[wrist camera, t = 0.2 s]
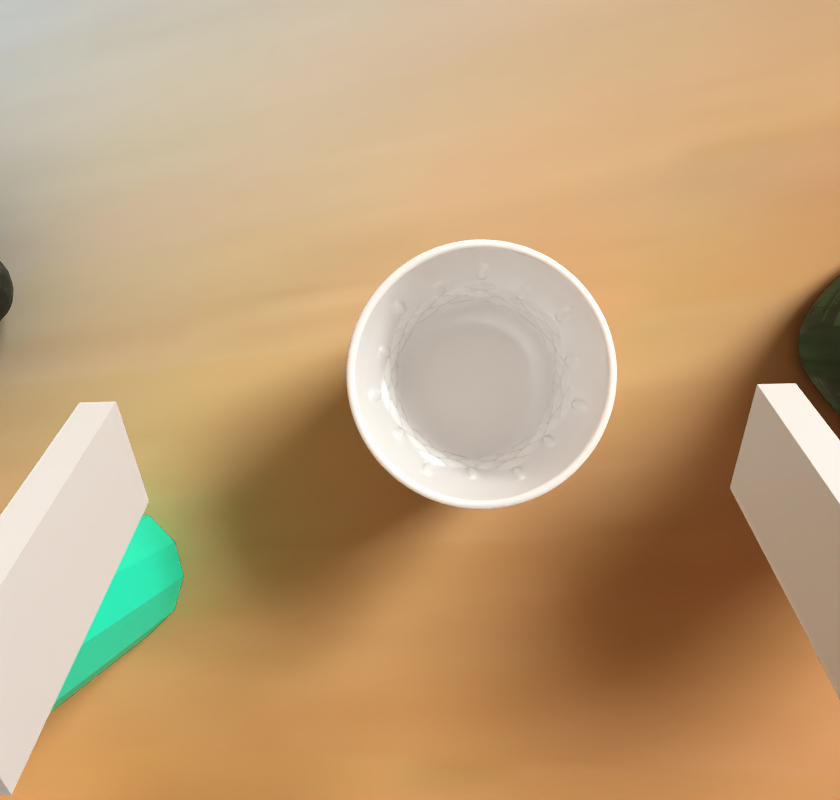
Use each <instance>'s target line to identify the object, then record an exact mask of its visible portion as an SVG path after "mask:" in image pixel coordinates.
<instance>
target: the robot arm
mask: <svg viewBox="0 0 840 800" xmlns="http://www.w3.org/2000/svg"><path fill="white" fill-rule="evenodd" d="M730 489H731V491H732V493H733V495H734V497H735V499H736V501H737V503H738V505H739V507H740V508H741V510H742V512H743V514H744V516H745V518H746V520H747V522H748V524H749V526H750V528H751V530H752V531H753V533H754V535H755V537H756V539H757V541H758V543H759V545H760V547H761V549H762V551H763V553H764V555H765V556H766V558H767V560H768V562H769V564H770V566H771V568H772V570H773V572H774V574H775V576H776V578H777V580H778V581H779V583H780V585H781V587H782V589H783V591H784V593H785V595H786V597H787V599H788V601H789V603H790V605H791V606H792V608H793V610H794V612H795V614H796V616H797V618H798V620H799V622H800V624H801V626H802V628H803V630H804V631H805V633H806V635H807V637H808V639H809V641H810V643H811V645H812V647H813V649H814V651H815V653H816V654H817V656H818V658H819V660H820V662H821V664H822V666H823V668H824V670H825V672H826V674H827V676H828V678H829V679H830V681H831V683H832V685H833V687H834V689H835V691H836V693H837V695H838V697H839V699H840V440H839V439H838V437H837V436H836V435H835V434H834V432H833V431H832V430H831V428H830V427H829V426H828V425H827V423H826V422H825V421H824V419H823V418H822V417H821V415H820V414H819V413H818V412H817V410H816V409H815V408H814V406H813V405H812V404H811V403H810V401H809V400H808V399H807V397H806V396H805V395H804V393H803V392H802V391H801V390H800V388H799V387H798V386H797V384H796V383H785V384H757V387H756V391H755V394H754V398H753V402H752V406H751V410H750V413H749V417H748V421H747V425H746V428H745V432H744V436H743V440H742V444H741V447H740V451H739V455H738V459H737V462H736V466H735V470H734V474H733V478H732V481H731V485H730ZM148 502H149V500H148V497H147V494H146V491H145V488H144V485H143V482H142V479H141V476H140V473H139V470H138V466H137V463H136V460H135V457H134V454H133V451H132V448H131V445H130V442H129V439H128V436H127V433H126V430H125V427H124V424H123V421H122V418H121V415H120V412H119V409H118V406H117V403H116V401H115V402H80V403H79V404H78V406H77V407H76V408H75V410H74V411H73V413H72V414H71V415H70V417H69V418H68V420H67V421H66V423H65V424H64V425H63V427H62V428H61V430H60V431H59V433H58V434H57V435H56V437H55V438H54V440H53V441H52V443H51V444H50V445H49V447H48V448H47V450H46V451H45V453H44V454H43V455H42V457H41V458H40V460H39V461H38V463H37V464H36V465H35V467H34V468H33V470H32V471H31V473H30V474H29V475H28V477H27V478H26V480H25V481H24V483H23V484H22V485H21V487H20V488H19V490H18V491H17V493H16V494H15V495H14V497H13V498H12V500H11V501H10V503H9V504H8V505H7V507H6V508H5V510H4V511H3V513H2V514H1V515H0V795H12V793H13V790H14V788H15V786H16V784H17V782H18V780H19V778H20V776H21V773H22V771H23V769H24V767H25V765H26V763H27V761H28V758H29V756H30V754H31V752H32V750H33V748H34V746H35V743H36V741H37V739H38V737H39V735H40V733H41V731H42V729H43V726H44V724H45V722H46V720H47V718H48V716H49V714H50V711H51V709H52V707H53V705H54V703H55V701H56V699H57V696H58V694H59V692H60V690H61V688H62V686H63V684H64V682H65V679H66V677H67V675H68V673H69V671H70V669H71V667H72V664H73V662H74V660H75V658H76V656H77V654H78V652H79V649H80V647H81V645H82V643H83V641H84V639H85V637H86V635H87V632H88V630H89V628H90V626H91V624H92V622H93V620H94V617H95V615H96V613H97V611H98V609H99V607H100V605H101V602H102V600H103V598H104V596H105V594H106V592H107V590H108V588H109V585H110V583H111V581H112V579H113V577H114V575H115V573H116V570H117V568H118V566H119V564H120V562H121V560H122V558H123V555H124V553H125V551H126V549H127V547H128V545H129V543H130V541H131V538H132V536H133V534H134V532H135V530H136V528H137V526H138V523H139V521H140V519H141V517H142V515H143V513H144V511H145V508H146V506H147V504H148Z"/></svg>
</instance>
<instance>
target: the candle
mask: <svg viewBox="0 0 840 800" xmlns="http://www.w3.org/2000/svg"><path fill="white" fill-rule="evenodd" d="M183 577H184V576H183V572H182V568H181V564H180V560H179V556H178V553H177V549H176V545H175V542H174V541H173V540H172V539H171V538H170V536H169V535H168V534H167V533H166V532H165V531H164V530H163V529H162V528H161V527H160V526H159V525H158V524H157V523H156V522H155V521H154V520H153V519H152V518H151V517H150V516H147V515H142V517H141V519H140V521H139V523H138V526H137V528H136V530H135V532H134V534H133V536H132V538H131V541H130V543H129V545H128V547H127V549H126V551H125V553H124V555H123V558H122V560H121V562H120V564H119V566H118V568H117V570H116V573H115V575H114V577H113V579H112V581H111V583H110V585H109V588H108V590H107V592H106V594H105V596H104V598H103V600H102V602H101V605H100V607H99V609H98V611H97V613H96V615H95V617H94V620H93V622H92V624H91V626H90V628H89V630H88V632H87V635H86V637H85V639H84V641H83V643H82V645H81V647H80V649H79V652H78V654H77V656H76V658H75V660H74V662H73V664H72V667H71V669H70V671H69V673H68V675H67V677H66V679H65V682H64V684H63V686H62V688H61V690H60V692H59V694H58V696H57V699H56V701H55V703H54V705H53V707H52V709H51V711H50V713H51V712H52V711H53V710H55V709H56V708H57V707H58V706H60V705H61V704H62V703H63V702H65V701H66V700H67V699H68V698H70V697H71V696H72V695H74V694H75V693H76V692H77V691H79V690H80V689H81V688H82V687H84V686H85V685H86V684H87V683H89V682H90V681H91V680H93V679H94V678H95V677H96V676H98V675H99V674H100V673H101V672H103V671H104V670H105V669H107V668H108V667H109V666H110V665H112V664H113V663H114V662H115V661H117V660H118V659H119V658H120V657H122V656H123V655H124V654H126V653H127V652H128V651H129V650H131V649H132V648H133V647H134V646H136V645H137V644H138V643H139V642H141V641H142V640H143V639H145V638H146V637H147V636H148V635H150V634H151V633H152V632H153V631H154V630H155V629H156V628H157V627H158V626H159V625H160V624H161V623H162V622H163V621H164V620H165V619H166V618H167V617H168V616H169V615H170V614H171V613H172V612H173V611H174V610H175V606H176V603H177V599H178V595H179V592H180V588H181V584H182V580H183Z"/></svg>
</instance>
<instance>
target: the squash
mask: <svg viewBox="0 0 840 800" xmlns="http://www.w3.org/2000/svg"><path fill="white" fill-rule="evenodd" d="M12 300H13V284H12V281H11V278H10V275H9V272H8V270H7V269H6V268H5V266H4V265H3V264H2V263H1V261H0V321H1V320H2V318H3V317H4V316H5V315H6V314H7V313H8V311H9V309H10V307H11V304H12Z"/></svg>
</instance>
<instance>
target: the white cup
mask: <svg viewBox="0 0 840 800" xmlns="http://www.w3.org/2000/svg"><path fill="white" fill-rule="evenodd" d="M346 383H347V393H348V399H349V404H350V408H351V412H352V415H353V418H354V421H355V424H356V426H357V429H358V431H359V433H360V435H361V437H362V439H363V441H364V442H365V444H366V446H367V447H368V449H369V450H370V452H371V453H372V455H373V456H374V457H375V459H376V460H377V461H378V462H379V463H380V464H381V466H382V467H383V468H384V469H385V470H386V471H387V472H388V473H389V474H391V475H392V476H393V477H394V478H395V479H396V480H398V481H399V482H400V483H402V484H403V485H404V486H406V487H407V488H409V489H411V490H412V491H414V492H416V493H418V494H419V495H421V496H424V497H426V498H428V499H430V500H433V501H436V502H438V503H442V504H445V505H449V506H453V507H458V508H466V509H497V508H504V507H509V506H513V505H517V504H521V503H524V502H527V501H530V500H532V499H534V498H537V497H539V496H541V495H543V494H545V493H547V492H549V491H550V490H552V489H554V488H555V487H557V486H558V485H560V484H561V483H562V482H564V481H565V480H566V479H567V478H569V477H570V476H571V475H572V474H573V473H574V472H575V471H576V470H577V469H578V468H579V467H580V466H581V465H582V464H583V463H584V462H585V461H586V459H587V458H588V457H589V456H590V454H591V453H592V451H593V450H594V448H595V447H596V445H597V444H598V442H599V440H600V438H601V437H602V435H603V433H604V430H605V428H606V426H607V423H608V421H609V418H610V415H611V411H612V408H613V404H614V399H615V393H616V383H617V365H616V356H615V349H614V345H613V340H612V337H611V334H610V331H609V328H608V325H607V323H606V320H605V318H604V316H603V314H602V312H601V310H600V308H599V307H598V305H597V303H596V302H595V300H594V299H593V297H592V296H591V294H590V293H589V292H588V290H587V289H586V288H585V287H584V286H583V285H582V283H581V282H580V281H579V280H578V279H577V278H576V277H575V276H574V275H573V274H571V273H570V272H569V271H568V270H567V269H565V268H564V267H563V266H561V265H560V264H559V263H557V262H556V261H554V260H553V259H551V258H549V257H547V256H546V255H544V254H542V253H540V252H537V251H535V250H533V249H530V248H527V247H525V246H521V245H518V244H514V243H510V242H504V241H497V240H466V241H459V242H454V243H449V244H446V245H442V246H439V247H436V248H433V249H431V250H429V251H426V252H424V253H422V254H420V255H418V256H416V257H414V258H413V259H411V260H409V261H408V262H406V263H405V264H403V265H402V266H401V267H399V268H398V269H397V270H396V271H394V272H393V273H392V274H391V275H390V276H389V277H388V278H387V279H386V280H385V281H384V282H383V283H382V284H381V285H380V286H379V287H378V289H377V290H376V291H375V292H374V294H373V295H372V296H371V298H370V299H369V301H368V302H367V304H366V305H365V307H364V309H363V311H362V313H361V314H360V317H359V319H358V321H357V323H356V326H355V328H354V331H353V334H352V338H351V341H350V345H349V350H348V356H347V367H346Z"/></svg>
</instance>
